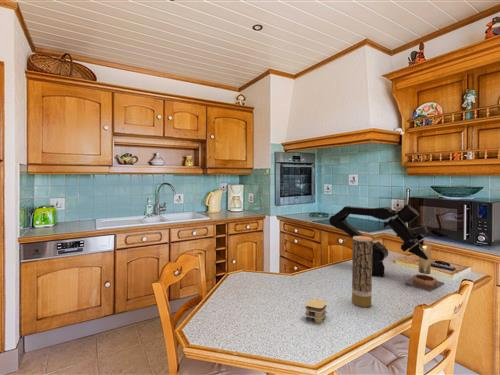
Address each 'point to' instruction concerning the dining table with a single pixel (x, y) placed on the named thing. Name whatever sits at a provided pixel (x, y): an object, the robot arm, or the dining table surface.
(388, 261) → the dining table surface
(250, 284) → the dining table surface
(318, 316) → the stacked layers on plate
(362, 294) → the bark covered log
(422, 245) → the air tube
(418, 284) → the brown base plate
